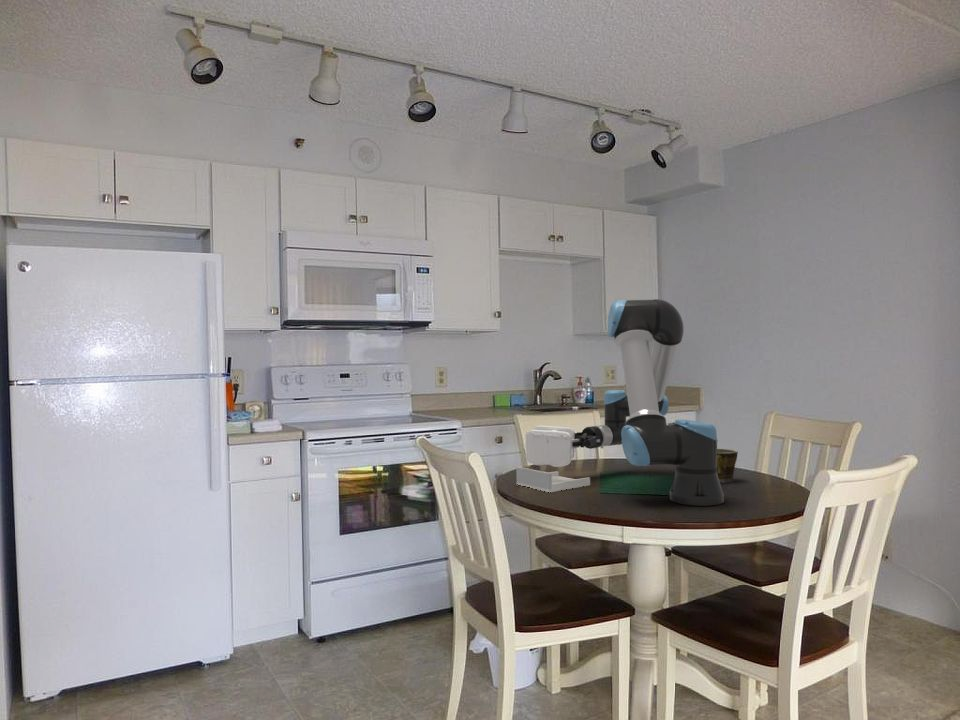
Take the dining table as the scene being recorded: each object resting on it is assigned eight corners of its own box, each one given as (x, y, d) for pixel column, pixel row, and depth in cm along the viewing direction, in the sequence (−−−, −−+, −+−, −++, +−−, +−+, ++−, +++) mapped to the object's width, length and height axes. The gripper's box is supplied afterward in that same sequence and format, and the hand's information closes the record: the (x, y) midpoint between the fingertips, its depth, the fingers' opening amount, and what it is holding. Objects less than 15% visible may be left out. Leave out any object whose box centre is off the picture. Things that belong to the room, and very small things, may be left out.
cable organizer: (576, 462, 230) (577, 427, 229) (569, 468, 220) (569, 432, 219) (533, 458, 235) (533, 425, 234) (524, 465, 225) (524, 429, 225)
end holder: (590, 485, 226) (589, 467, 226) (549, 492, 216) (549, 473, 216) (556, 478, 239) (556, 461, 239) (516, 485, 228) (516, 467, 228)
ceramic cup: (708, 477, 237) (708, 448, 237) (739, 479, 233) (739, 449, 233) (702, 484, 226) (702, 453, 225) (735, 486, 221) (735, 455, 221)
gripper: (623, 451, 230) (576, 459, 217) (571, 443, 250) (526, 450, 237) (622, 429, 230) (576, 435, 217) (571, 423, 249) (525, 428, 237)
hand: (550, 443), depth 227 cm, fingers closed on cable organizer, 12 cm apart
